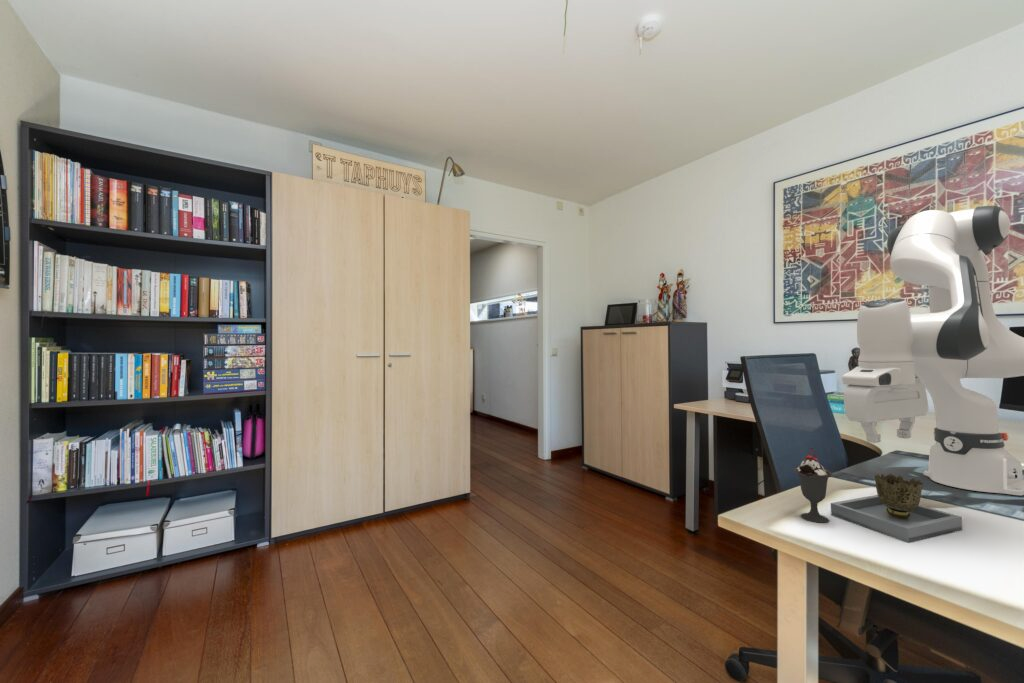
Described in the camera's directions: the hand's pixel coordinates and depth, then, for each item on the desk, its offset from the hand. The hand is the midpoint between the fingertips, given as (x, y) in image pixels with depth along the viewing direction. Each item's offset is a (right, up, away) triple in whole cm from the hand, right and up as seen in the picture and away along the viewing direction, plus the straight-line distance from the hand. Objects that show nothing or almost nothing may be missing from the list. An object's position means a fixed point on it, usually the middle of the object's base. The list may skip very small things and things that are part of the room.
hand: (889, 440), depth 86 cm
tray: (0, -17, -1) cm, 17 cm away
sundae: (-14, -18, +2) cm, 23 cm away
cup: (+2, -16, 0) cm, 16 cm away
